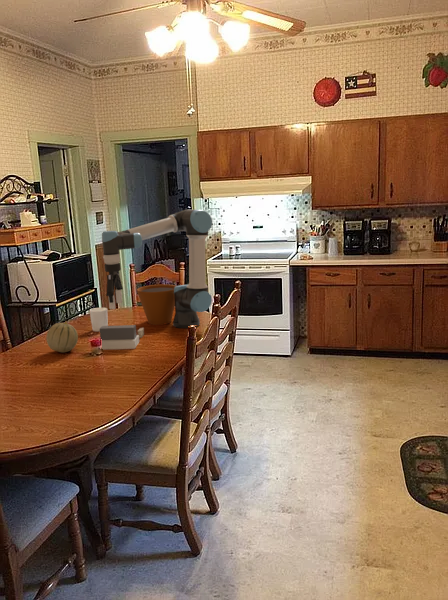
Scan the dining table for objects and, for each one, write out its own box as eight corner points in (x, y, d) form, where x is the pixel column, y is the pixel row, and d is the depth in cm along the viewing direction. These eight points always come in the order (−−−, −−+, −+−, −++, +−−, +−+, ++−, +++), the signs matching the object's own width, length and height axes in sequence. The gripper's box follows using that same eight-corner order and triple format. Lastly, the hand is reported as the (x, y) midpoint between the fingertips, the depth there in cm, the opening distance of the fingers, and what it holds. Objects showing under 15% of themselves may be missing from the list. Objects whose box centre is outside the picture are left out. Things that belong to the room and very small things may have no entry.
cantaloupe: (41, 354, 258) (38, 324, 255) (63, 346, 271) (60, 317, 267) (64, 357, 251) (60, 327, 248) (85, 349, 264) (82, 319, 261)
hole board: (139, 342, 270) (138, 335, 269) (135, 348, 261) (134, 340, 260) (104, 343, 271) (103, 336, 271) (99, 349, 262) (98, 341, 261)
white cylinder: (107, 332, 293) (105, 311, 291) (89, 332, 294) (87, 311, 291) (111, 327, 303) (109, 307, 301) (94, 328, 303) (91, 307, 301)
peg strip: (137, 343, 268) (135, 325, 266) (135, 346, 263) (133, 327, 261) (104, 344, 269) (102, 326, 267) (101, 347, 264) (99, 328, 262)
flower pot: (136, 319, 320) (134, 286, 316) (175, 314, 327) (173, 282, 322) (142, 328, 298) (140, 293, 293) (184, 323, 304) (182, 289, 300)
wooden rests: (144, 335, 284) (143, 327, 283) (141, 338, 278) (141, 331, 277) (112, 336, 285) (111, 328, 284) (109, 339, 279) (108, 331, 278)
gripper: (111, 259, 270) (115, 300, 274) (97, 267, 245) (101, 311, 250) (125, 259, 269) (129, 300, 274) (113, 266, 245) (117, 311, 249)
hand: (116, 305), depth 262 cm, fingers open, 13 cm apart
